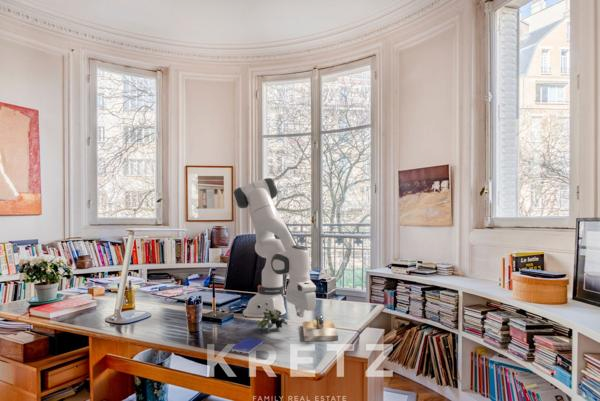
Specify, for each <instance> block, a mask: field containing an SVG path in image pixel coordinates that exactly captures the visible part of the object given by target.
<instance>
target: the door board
mask: <svg viewBox="0 0 600 401" xmlns="http://www.w3.org/2000/svg"><path fill="white" fill-rule="evenodd" d="M302 331H303V341H304V342H321V341H322V342H323V341H324V342H325V341H327V342H329V341H332V342H333V341H339V334H338V332H337V329H336V327H335V324H334V321H332V320H327V321H325V320H323V328H319V324H318V320H316V319H313V320H312V321H302Z"/></svg>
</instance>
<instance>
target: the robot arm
mask: <svg viewBox="0 0 600 401" xmlns="http://www.w3.org/2000/svg"><path fill="white" fill-rule="evenodd" d="M278 190H279V189H278V185H277V183H276V182H275V180H274V179H272V178H271V177H268V178H267V177H266V178H263V179H260V180H255V181H251V183H247V184H245V185H242V186H239V187H237V188H236V189H234V191H233V195H232V197H233V198H232V199H233V202H234V203H235V205H236V206H237V208H240V209H247V208H248V214H249V216H250V220H251V223H252V226H253V229H254V231H255V244H254V251H255V253H256V255H258V256H259V257H261V258H264V259H266V260H265V263H264V264H265V265H264V267H263V269H262V270H261V285H260V284H258V285H257V293H256V294H255V295H254V296H252V298H250V299H249V300H248V303H247V306H246V308H245V309H244V310H243V311H242V316H243V315H244V316H243V317H245V316H247V318H249V317H250V318H264V313H263V311H264V312H267V313H268V312H269V310H272V311H273V312H275V311H274V309H275V310H276V309H277V310H278V311H280V312H281V313H282V314H281V315H283V316H284V315H285V314H286V313H287V310H286V306H285V300H286V302H287V303H290V304H292V305H294V308H295V311H296V317H299V318H303V317H304V313H305V310H306V311H307V312H310V311H314V310H316V306H317V305H316V304H317V303H316V302H317V296H316V291H317V286H316V285H315V283H314V282H313V281H312V280H311V275H310V268H311V259H310V258H311V257H310V251H309V249H308V248H307V247H306V246H304V245H298V243H297V241H296V239H295V238H294V236H293V233H292V231H291V230H290V228H289V226H288V224H287V223H286V222H285V220H284V219H283V218H282V217H281V215H280V213H279V211H278V210H277V208H276V205H275V202H274V199H275V198H276V197H277V195H278ZM275 236H277V238H276V237H275ZM284 275H289V280H288V283H287V285H286V288H285V286H284V284H283V283H284V281H283V280H284V279H283V278H284ZM285 289H286V290H285ZM285 291H286V292H285ZM284 295H285V299H284Z"/></svg>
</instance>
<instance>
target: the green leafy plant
mask: <svg viewBox="0 0 600 401" xmlns="http://www.w3.org/2000/svg"><path fill="white" fill-rule="evenodd" d="M274 311H275V312H273V311H272V310H269V312H268V313H267V312H264V311H263V313H264V317H262V318H263V319H262V320H261V321H260V320H258V319H257V321H256V322H255V325H257V328H260V329H263V330H265V329H266V328H265V327H266V326H267V332H266V334H268V333H269V331H270V330H271V329H272V328H273V325H275V327H276V329H278V328H279V329H283V324H285V325H288V322H287V321H286V320H285V318H284V317H283V316H284V314H283V315H281V314H282V313H281V312H280V311H278V310H277V309H276V310H275V309H274Z"/></svg>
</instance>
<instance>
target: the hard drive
mask: <svg viewBox="0 0 600 401" xmlns="http://www.w3.org/2000/svg"><path fill="white" fill-rule="evenodd" d="M263 343H264V340H262V339H254V338H247V337H246V338H244V339H243V340H241V341H239V342H238V343H236V344H234V345H233V346H231V347H230V348H229V351H230V350H232V351H231V352H234V351H236V353H240V352H242V353H241V354H247V353H248V354H250V353H251V352H252V351H254V350H256V349H257V348H258V347H259V346H261V345H262V344H263Z"/></svg>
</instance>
